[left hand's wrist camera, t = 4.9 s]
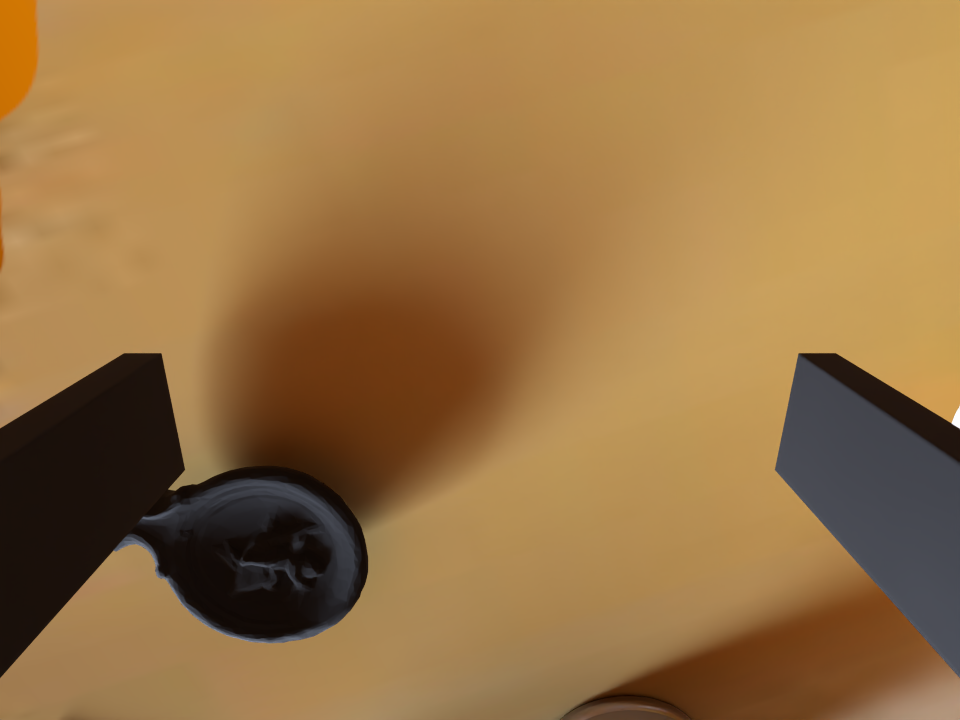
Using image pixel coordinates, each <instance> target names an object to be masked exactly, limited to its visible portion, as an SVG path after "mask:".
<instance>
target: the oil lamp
mask: <svg viewBox="0 0 960 720" xmlns="http://www.w3.org/2000/svg"><path fill="white" fill-rule="evenodd" d="M132 544H137V545H140V546H142V547H144V548H145V549H147V550H148V551H149V552H150V553H151V555H152V557H153V559H154V561H155V564H156V570H155V572H156V575H157V577H158V578H164V579H165V580H167V582H168V583H169V584H170V586H171V588H172V590H173V592H174V593H175V594H176V596H177V597H178V599H179V600H180V602H181V604H182V605H183V606H184V607H185V608H186V609H187V610H188V611H189V612H190V613H191V614H192V615H193V616H194V617H196V618H197V619H198V620H200V621H201V622H202V623H204V624H205V625H206V626H208V627H210V628H212V629H214V630H216V631H218V632H220V633H222V634H225V635H227V636H230V637H234V638H238V639H242V640H246V641H250V642H260V643H284V642H288V641H294V640H301V639H305V638H309V637H313V636H315V635H317V634H319V633H321V632H323V631H325V630H326V629H328V628H330V627H332V626H334V625H335V624H337V623H338V622H339V621H340V620H342V619H343V618H344V617H345V615H346V614H347V613H348V612H349V611H350V610H351V609H352V607H353V606H354V605H355V603H356V602H357V600H358V599H359V597H360V594H361V591H362V589H363V587H364V585H365V582H366V578H367V574H368V554H367V548H366V543H365V538H364V535H363V532H362V528H361V526H360V524H359V522H358V520H357V519H356V517H355V516H354V515H353V513H352V512H351V510H350V509H349V508H348V506H347V505H346V504H345V502H344V501H343V500H342V498H341V497H340V496H339V495H338V494H336V493H335V492H334V491H333V490H332V489H330V488H329V487H327V486H326V485H325V484H324V483H321V482H320V481H318V480H317V479H315V478H313V477H312V476H310V475H308V474H306V473H303V472H300V471H297V470H294V469H290V468H286V467H279V466H254V467H244V468H239V469H235V470H230V471H227V472H224V473H222V474H219V475H216V476H214V477H212V478H210V479H208V480H206V481H204V482H202V483H200V484H198V485H194V484H192V485H187V486H182V487H180V488H179V489H178V490H176V491H172V490H167V491H166V492H165V493H164V494H163V495H162V496H161V497H160V499H159V500H158V501H157V502H156V503H155V504H154V505H153V506H152V508H151V509H150V510H149V511H148V512H147V513H146V514H145V515H144V517H143V518H142V519H141V520H140V521H139V522H138V523H137V524H136V526H135V527H134V528H133V529H132V530H131V531H130V532H129V533H128V535H127V536H126V537H125V538H124V539H123V540H122V541H121V542H120V544H119V545H118V546H117V547H116V548H115V549H114V551H118V550H120V549H121V548H123V547H126V546H128V545H132Z"/></svg>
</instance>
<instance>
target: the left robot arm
mask: <svg viewBox="0 0 960 720" xmlns="http://www.w3.org/2000/svg"><path fill="white" fill-rule="evenodd" d="M184 470H185V468H184V463H183V458H182V453H181V448H180V443H179V438H178V433H177V428H176V423H175V418H174V413H173V408H172V403H171V398H170V394H169V389H168V384H167V379H166V374H165V369H164V364H163V359H162V354H161V353H124V354H122V355H121V356H119V357H117V358H116V359H114V360H112V361H111V362H109V363H107V364H106V365H104V366H103V367H101V368H99V369H98V370H96V371H94V372H93V373H91V374H89V375H88V376H86V377H84V378H83V379H81V380H79V381H78V382H76V383H74V384H73V385H71V386H70V387H68V388H66V389H65V390H63V391H61V392H60V393H58V394H56V395H55V396H53V397H51V398H50V399H48V400H46V401H45V402H43V403H41V404H40V405H38V406H37V407H35V408H33V409H32V410H30V411H28V412H27V413H25V414H23V415H22V416H20V417H18V418H17V419H15V420H13V421H12V422H10V423H8V424H7V425H5V426H4V427H2V428H0V678H1V676H2V675H3V674H4V673H5V672H6V671H7V670H8V669H9V667H10V666H11V665H12V664H13V663H14V662H15V661H16V660H17V658H18V657H19V656H20V655H21V654H22V653H23V652H24V651H25V649H26V648H27V647H28V646H29V645H30V644H31V643H32V642H33V640H34V639H35V638H36V637H37V636H38V635H39V634H40V633H41V631H42V630H43V629H44V628H45V627H46V626H47V625H48V624H49V622H50V621H51V620H52V619H53V618H54V617H55V616H56V614H57V613H58V612H59V611H60V610H61V609H62V608H63V607H64V605H65V604H66V603H67V602H68V601H69V600H70V599H71V598H72V596H73V595H74V594H75V593H76V592H77V591H78V590H79V589H80V587H81V586H82V585H83V584H84V583H85V582H86V581H87V580H88V578H89V577H90V576H91V575H92V574H93V573H94V572H95V571H96V569H97V568H98V567H99V566H100V565H101V564H102V563H103V562H104V560H105V559H106V558H107V557H108V556H109V555H110V554H111V553H112V551H113V550H114V549H115V548H116V547H117V546H118V545H119V544H120V542H121V541H122V540H123V539H124V538H125V537H126V536H127V535H128V533H129V532H130V531H131V530H132V529H133V528H134V527H135V526H136V524H137V523H138V522H139V521H140V520H141V519H142V518H143V517H144V515H145V514H146V513H147V512H148V511H149V510H150V509H151V508H152V506H153V505H154V504H155V503H156V502H157V501H158V500H159V499H160V497H161V496H162V495H163V494H164V493H165V492H166V491H167V490H168V488H169V487H170V486H171V485H172V484H173V483H174V482H175V481H176V479H177V478H178V477H179V476H180V475H181V474H182V473H183V472H184ZM775 470H776V472H777V473H778V474H779V475H780V476H781V477H782V478H783V479H784V481H785V482H786V483H787V484H788V485H789V486H790V487H791V488H792V490H793V491H794V492H795V493H796V494H797V495H798V496H799V497H800V499H801V500H802V501H803V502H804V503H805V504H806V505H807V506H808V508H809V509H810V510H811V511H812V512H813V513H814V514H815V515H816V517H817V518H818V519H819V520H820V521H821V522H822V523H823V524H824V526H825V527H826V528H827V529H828V530H829V531H830V532H831V533H832V535H833V536H834V537H835V538H836V539H837V540H838V541H839V542H840V544H841V545H842V546H843V547H844V548H845V549H846V550H847V551H848V553H849V554H850V555H851V556H852V557H853V558H854V559H855V560H856V562H857V563H858V564H859V565H860V566H861V567H862V568H863V569H864V571H865V572H866V573H867V574H868V575H869V576H870V577H871V578H872V580H873V581H874V582H875V583H876V584H877V585H878V586H879V587H880V589H881V590H882V591H883V592H884V593H885V594H886V595H887V596H888V598H889V599H890V600H891V601H892V602H893V603H894V604H895V605H896V607H897V608H898V609H899V610H900V611H901V612H902V613H903V614H904V616H905V617H906V618H907V619H908V620H909V621H910V622H911V624H912V625H913V626H914V627H915V628H916V629H917V630H918V631H919V633H920V634H921V635H922V636H923V637H924V638H925V639H926V640H927V642H928V643H929V644H930V645H931V646H932V647H933V648H934V649H935V651H936V652H937V653H938V654H939V655H940V656H941V657H942V658H943V660H944V661H945V662H946V663H947V664H948V665H949V666H950V667H951V669H952V670H953V671H954V672H955V673H956V674H957V675H958V676H959V678H960V428H958V427H956V426H955V425H953V424H952V423H950V422H948V421H947V420H945V419H943V418H942V417H940V416H938V415H937V414H935V413H933V412H932V411H930V410H928V409H927V408H925V407H923V406H922V405H920V404H919V403H917V402H915V401H914V400H912V399H910V398H909V397H907V396H905V395H904V394H902V393H900V392H899V391H897V390H895V389H894V388H892V387H890V386H889V385H887V384H886V383H884V382H882V381H881V380H879V379H877V378H876V377H874V376H872V375H871V374H869V373H867V372H866V371H864V370H862V369H861V368H859V367H857V366H856V365H854V364H853V363H851V362H849V361H848V360H846V359H844V358H843V357H841V356H839V355H838V354H836V353H799V354H798V359H797V364H796V369H795V374H794V379H793V384H792V389H791V394H790V398H789V403H788V408H787V413H786V418H785V423H784V428H783V433H782V438H781V443H780V448H779V453H778V458H777V463H776V467H775ZM560 720H691V719H690V718H689V717H688V716H687V715H686V714H684V713H683V712H682V711H680V710H679V709H677V708H675V707H674V706H672V705H669V704H667V703H665V702H662V701H659V700H655V699H651V698H646V697H638V696H618V697H610V698H605V699H600V700H596V701H593V702H590V703H587V704H585V705H583V706H580V707H578V708H576V709H574V710H573V711H571V712H569V713H568V714H566V715H565V716H564V717H562V718H561V719H560Z"/></svg>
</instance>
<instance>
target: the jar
mask: <svg viewBox="0 0 960 720" xmlns="http://www.w3.org/2000/svg"><path fill="white" fill-rule="evenodd" d="M952 424H953V425H955V426H956V427H958V428H960V406H959V408H958V410H957V412H956V414H955V416H954V419H953V422H952Z"/></svg>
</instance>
